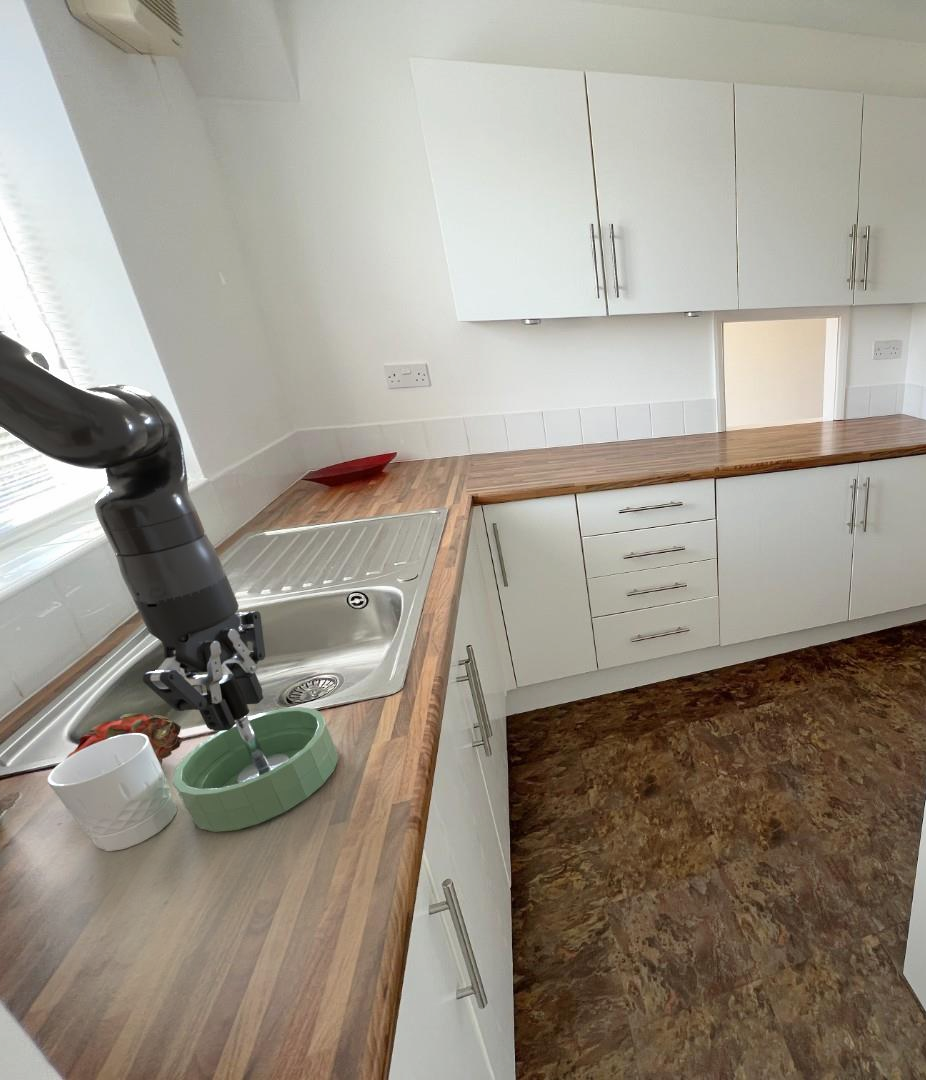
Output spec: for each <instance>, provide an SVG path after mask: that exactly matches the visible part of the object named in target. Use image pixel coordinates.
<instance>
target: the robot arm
mask: <svg viewBox="0 0 926 1080" xmlns="http://www.w3.org/2000/svg"><path fill="white" fill-rule="evenodd" d="M50 365H51V364H50V363H49V360H48V359H47V357H46V356H45V355H44V353H42V352H41V351H40V350H39V349H37V348H36V347H34V346H32V345H31V344H29V343H27V342H25V341H24V340H23V339H21V338H19V337H17V336H15V335H13V334H11V333H8V332H7V331H5V330H4V329H3V330H2V329H1V328H0V428H1V429H2V430H3V431H5V432H7V433H8V434H10V435H11V436H13V437H14V438H15V439H17V440H19V441H20V442H22V443H23V444H25V445H26V446H27V447H30V448H31V449H33V450H34V451H36V452H38V453H40V454H42V455H44V456H46V457H48V458H51V459H53V460H55V461H57V462H61V463H64V464H66V465H67V464H68V465H69V466H70V465H71V466H74V467H77V468H82V469H90V470H104V472H105V476H106V481H107V485H106V487H105V489H104V490H103V492H102V493H101V494H100V495H99V496H98V497H97V499H96V501H95V502H94V512H95V514H96V517H97V519H98V522H99V525H100V526H101V528H102V530H103V532H104V534H105V536H106V538H107V540H108V542H109V544H110V547H111V549H112V550H113V553H114V555H115V559H116V561H117V564H118V569H119V572H120V575H121V577H122V580H123V582H124V584H125V586H126V588H127V590H128V592H129V594H130V596H131V598H132V600H133V602H134V604H135V606H136V608H137V611H138V613H139V614H140V617H141V619H142V621H143V623H144V625H145V627H146V629H147V631H148V633H149V634H150V635H152V636H153V637H154V638H156V639H158V640H159V641H160V642H161V643H162V648H163V649H162V650H163V651H162V655H163V659H164V660H163V661H162V663H161V664H160V665H159V666H158V668H157V669H156V670H155V671H148V672H145V673H144V674H143V676H142V681H143V683H144V685H146V686H147V687H148V688H149V689H150V690H151V691H153V692H154V693H155V694H156V695H157V696H158V697H160V698H161V699H162V700H163V701H164V702H165V703H167V704H168V705H169V706H170V707H171V708H172V709H173V710H174V711H175V712H184V711H199V713H200V715H201V718H202V720H203V722H204V723H205V726H206V727H207V729H209V730H210V731H214V732H219V731H223V730H230V729H231V728H232V727H233V726H234V725H235V721H234V719H233V717H232V714H231V712H230V710H229V708H228V706H227V703H226V701H225V699H222V695H221V689H220V683H219V682H220V680H222V679H223V675H224V673H223V669H224V670H225V671H226V672H227V674H233V675H234V676H235V679H236V681H237V683H238V685H239V688H240V690H241V692H242V695H243V697H244V699H245V701H246V704H247V705H257V704H259V703H261V701H263V699H264V695H263V688H262V685H261V683H260V681H259V679H258V676H257V673H256V672H257V671H258V666H257V664H258V663H259V661H263V660H265V659H266V648H265V640H264V632H263V624H262V615H261V612H259V611H258V610H253V611H241V612H239V611H238V610H239V603H238V602H239V601H238V599H237V598H236V595H235V593H234V590H233V588H232V585H231V583H230V581H229V578H228V576H227V574H226V571H225V568H224V566H223V564H222V562H221V559H220V557H219V554H218V552H217V550H216V549H215V546H214V545H213V544H212V542H211V540H210V538H208V535H207V533H206V531H205V529H204V526H203V523H202V521H201V519H200V516H199V514H198V511H197V509H196V507H195V505H194V503H193V501H192V499H191V497H190V494H189V488H188V486H189V485H188V472H187V467H186V459H185V453H184V447H183V441H182V437H181V434H180V433H181V432H180V430H179V428H178V425H177V423H176V421H175V418H174V417H173V415H172V414H171V412H170V411H169V410H168V408H167V407H166V406H165V404H164V403H163V402H162V401H161V400H160V399H158V398H157V397H156V396H155V395H153V394H152V393H150V392H148V391H147V390H144V389H142V388H140V387H136V386H133V385H128V384H108V385H101V386H96V387H89V388H82V387H79V386H77V385H74V384H72V383H70V382H67V381H66V380H64V379H62V378H60V377H59V376H57V375H55V374H53V373H52V372H51V366H50ZM248 642H250V643H251V645H252V646H251V647H252V650H250V649H249V645H248ZM199 673H200V674H199ZM201 673H207V674H201ZM202 685H203V686H204V687H205V690H206V692H204V691H203V686H202Z"/></svg>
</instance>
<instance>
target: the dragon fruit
mask: <svg viewBox="0 0 926 1080" xmlns="http://www.w3.org/2000/svg"><path fill="white" fill-rule="evenodd" d="M118 719H119V720H107V721H104V722H101V723H99V724H97V725H95V726H93V727H92V728H91V729H89V733H87V734H85V735H82V736H81V737H80V738H79V740H78V741H79V743H78V744H77V746H76V747H75V749H74V750H73V751H72V752H70V753H69V754H68V755H67V756H66V757H65V759H66V758H68V757H70V756H71V755H73V754H75V753H76V752H78V751H80V750H82V749H84V748H86V747H88V746H90V745H93V744H95V743H98V742H100V741H103V740H106V739H109V738H112V737H116V736H120V735H125V734H133V733H139V734H144V735H146V736H147V737H148V738H149V741H150V743H151V745H152V747H153V750H154V752H155V754H156V756H157V759H158V761H159V763H160V765H161V764H162V763H163V759H166V758H169V757H170V756H171V755H172V754H173V753H172V752H173V751H176V750H177V749H179V748H180V747H181V744H182V743H183V740H184V738H182V737H180V736H179V735H180V733H181V729H182V726H181V725H179V724H178V723H177V722H175V721H171V719H170V718H168V717H167V716H162V715H157V714H149V715H148V716H146V715H145V714H144V713H125V714H123V715H121V716H119V717H118ZM65 759H64V760H65ZM64 760H63V761H64Z"/></svg>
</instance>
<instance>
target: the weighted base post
mask: <svg viewBox="0 0 926 1080" xmlns="http://www.w3.org/2000/svg"><path fill="white" fill-rule="evenodd" d="M219 683H220V689H221V695H222V699H225V701H226V703H227V706H228V708H229V710H230V712H231V714H232V717H233V719H234V721H235V724H236V726H237V728H238V730H239V733H240V735H241V737H242V739H243V741H244V744H245V746H246V748H247V750H248V752H249V755H250V757H251V759H252V761H253V763H251V764H249V765H248V766H247V767H245V768H244V769H243V770H242V771H241V772H240V773H239V775H238V777H237V783H242V782H245V781H247V780H250V779H252V778H255V777H257V776H259V775H262V774H264V773H267V772H269V771H270V770H272V769H274V768H276V767H277V766H279V765H281V764H283V763H284V762H286V761H288V760H289V757H288V756H287V755H284V754H273V755H269V756H266V757H265V756H264V753H263V751H262V749H261V746H260V744H259V742H258V740H257V737H256V735H255V733H254V731H253V728H252V726H251V724H250V722H249V719H248V718H249V717H248V715H249V713H250V708H249V706H248V704H246V701H245V699H244V697H243V695H242V692H241V690H240V688H239V685H238V683H237V681H236V679H235V676H234V675H233V674H229V673H227V674H223V679H222V680H220V682H219Z"/></svg>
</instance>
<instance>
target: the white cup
mask: <svg viewBox="0 0 926 1080" xmlns="http://www.w3.org/2000/svg"><path fill="white" fill-rule="evenodd" d="M46 782H47V784H48V785H49V786H50V788H51V789H52V791H53V792H54V794H56V796H57V797H58V799H59V800H60V801H61V803H62V804H63V805H64V806H65V808H66V809H67V811H68V813H70V815H71V816H72V817H73V818H74V819H75V821H76V822H77V823H78V825H79V826H80V828H82V830H84V832H86V833H87V834H88V836H89V837H90V839H91V840H92V841H93V843H94V844H95V845H96V847H97V848H98V849H99V850H102V851H104V852H115V851H121V850H125V849H128V848H131V847H133V846H136V845H139V844H141V843H143V842H145V841H146V840H148V839H150V838H151V837H154V836H155V835H156V834H158V833H159V832H161V831H162V830H163V829H164V828H166V827H167V826H168V825H169V824H170V823H171V822H172V821H173V819H174V818H175V816H176V814H177V813H178V809H177V804H176V802H175V800H174V798H173V796H172V793H171V787H170V785H169V783H168V780H167V777H166V775H165V773H164V769H163V767H162V766H161V764H160V763H159V761H158V759H157V756H156V754H155V752H154V750H153V747H152V745H151V743H150V741H149V738H148V737H147V736H146V735H144V734H139V733H133V734H125V735H120V736H116V737H112V738H109V739H106V740H103V741H100V742H98V743H95V744H93V745H90V746H88V747H86V748H84V749H82V750H80V751H78V752H76V753H75V754H73V755H71V756H70V757H68V758H66V757H65V760H62V761H61V762H60V763H58V764H56V766H55V767H54V768H53V769H52V770H51V771H50V772H49V774H48V775H47V778H46Z"/></svg>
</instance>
